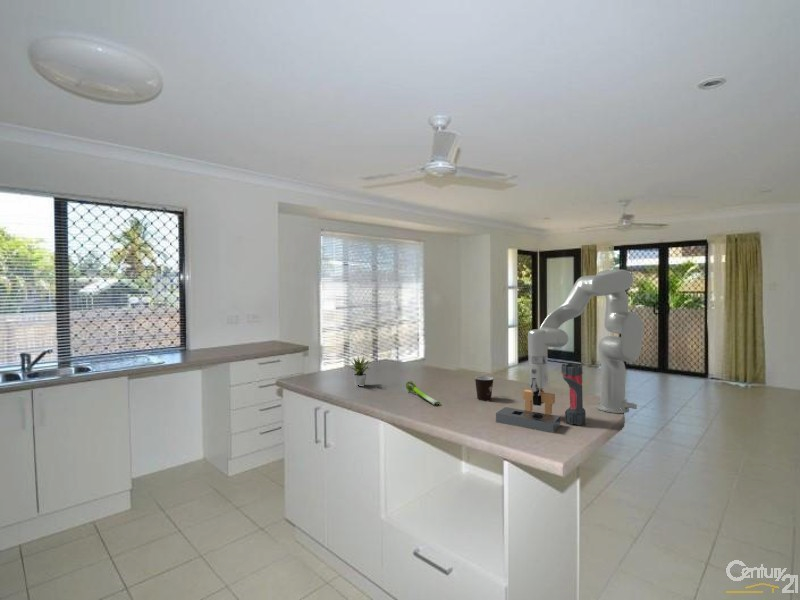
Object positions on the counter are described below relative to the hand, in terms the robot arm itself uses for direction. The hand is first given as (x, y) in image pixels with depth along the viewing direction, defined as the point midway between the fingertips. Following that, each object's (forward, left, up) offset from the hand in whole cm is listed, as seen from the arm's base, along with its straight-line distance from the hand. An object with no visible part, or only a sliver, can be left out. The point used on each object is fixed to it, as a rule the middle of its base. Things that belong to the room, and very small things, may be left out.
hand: (538, 403), depth 172 cm
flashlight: (-14, +2, -5) cm, 15 cm away
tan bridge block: (0, 0, -3) cm, 3 cm away
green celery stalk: (+55, +3, -6) cm, 55 cm away
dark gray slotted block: (0, +12, -5) cm, 13 cm away
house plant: (+94, +2, -5) cm, 95 cm away
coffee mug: (+28, -13, -5) cm, 31 cm away
